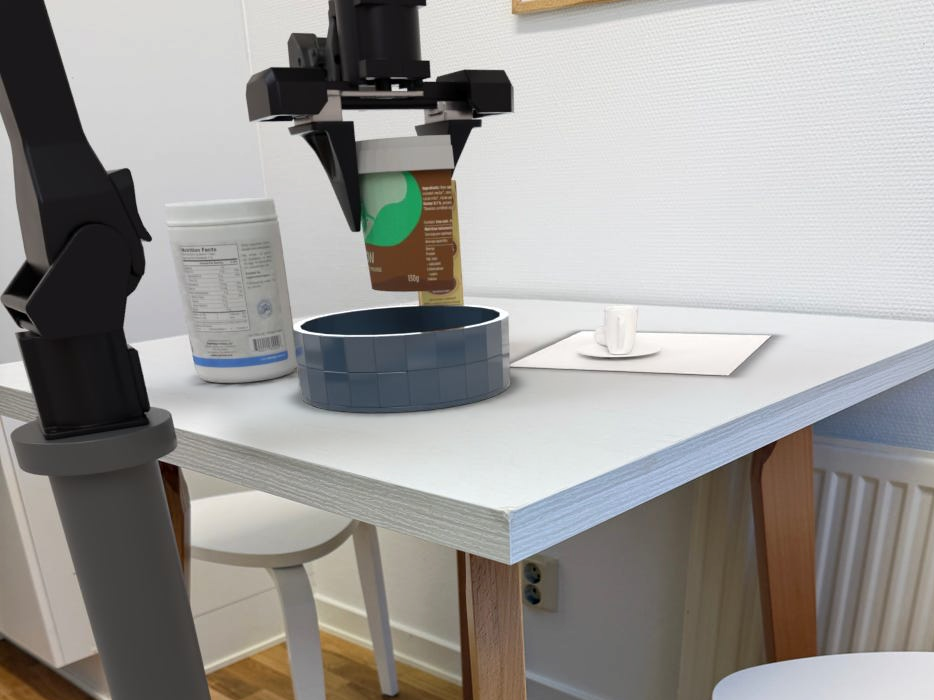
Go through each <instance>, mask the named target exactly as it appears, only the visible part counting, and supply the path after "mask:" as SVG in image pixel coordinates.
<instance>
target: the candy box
mask: <svg viewBox="0 0 934 700" xmlns="http://www.w3.org/2000/svg"><path fill="white" fill-rule="evenodd" d="M451 180H452V226H453V271H454V289H452V290H439V291H417V295H418V297H417V298H418V305H444V304H449V305H465V302H464V300H465V299H464V286H463V285H464V284H463V268H462V253H461V252H462V251H461V250H462V249H461V237H460V236H461V235H460V222H459V221H460V220H459V207H458V206H459V205H458V190H457V181H456V180H455V179H451Z"/></svg>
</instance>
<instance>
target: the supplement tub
mask: <svg viewBox="0 0 934 700" xmlns="http://www.w3.org/2000/svg"><path fill="white" fill-rule="evenodd" d="M164 210H165V212H164V213H165V216H166V217H165V218H166V223H165V224H166V226H167V234H168V239H169V245H170V250H171V254H172V259H173V265H174V269H175V274H176V279H177V284H178V289H179V295H180V301H181V305H182V310H183V315H184V319H185V325H186V330H187V335H188V340H189V345H190V351H191V356H192V360H193V364H194V369H195V373H196V374H197V376H198V377H200V378H201V379H202V380H204V381H207V382H210V383H218V384H242V383H243V384H244V383H253V382H261V381H267V380H272V379H276V378H277V379H278V378H280V377H284V376H287V375H289V374H291V373H293V372H294V371H295V370H296V369H297V363H296V356H295V349H294V341H293V334H292V326H293V325H294V321H293V313H292V306H291V300H290V292H289V285H288V279H287V272H286V271H287V270H286V264H285V258H284V257H285V256H284V249H283V243H282V242H283V241H282V236H281V229H280V222H279V220H278V218H279V216H278V214H277V210H276V205H275V200H274V198H273V197H243V198H241V197H240V198H225V199H224V198H223V199H210V200H193V201H181V202H180V201H179V202H170V203H165V204H164Z"/></svg>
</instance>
